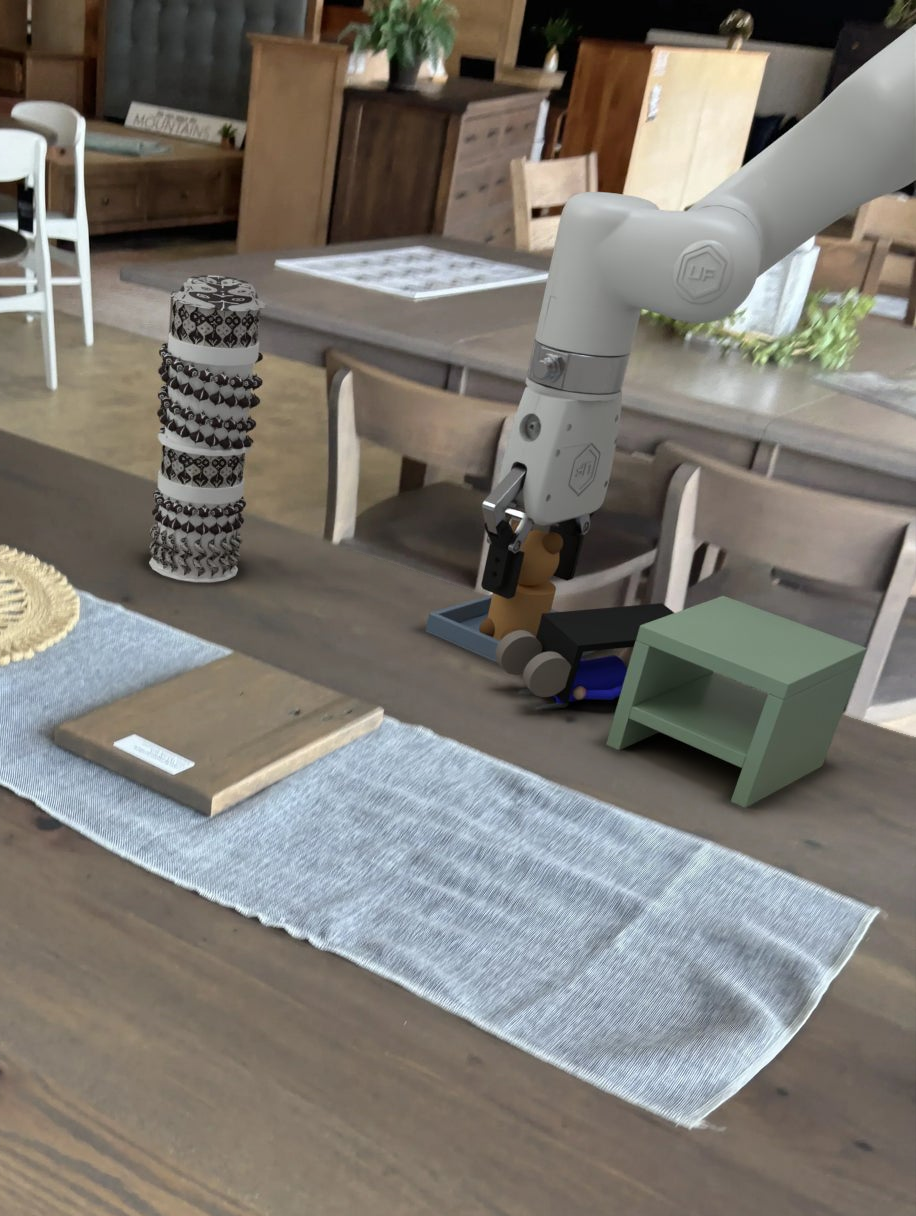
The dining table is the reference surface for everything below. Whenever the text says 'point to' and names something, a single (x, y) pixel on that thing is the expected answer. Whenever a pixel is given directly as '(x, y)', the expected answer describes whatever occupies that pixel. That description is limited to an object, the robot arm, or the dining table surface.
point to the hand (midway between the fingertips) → (527, 583)
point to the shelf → (738, 691)
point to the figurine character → (576, 652)
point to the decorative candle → (205, 428)
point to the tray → (467, 626)
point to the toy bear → (527, 588)
